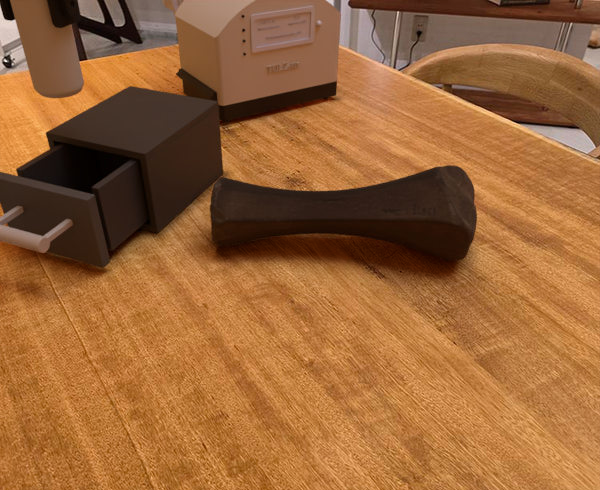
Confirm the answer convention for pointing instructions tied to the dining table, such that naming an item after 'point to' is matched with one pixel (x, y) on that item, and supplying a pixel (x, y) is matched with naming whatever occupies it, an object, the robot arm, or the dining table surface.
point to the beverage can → (48, 50)
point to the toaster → (257, 52)
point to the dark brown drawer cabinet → (154, 144)
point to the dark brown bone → (355, 212)
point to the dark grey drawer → (73, 203)
